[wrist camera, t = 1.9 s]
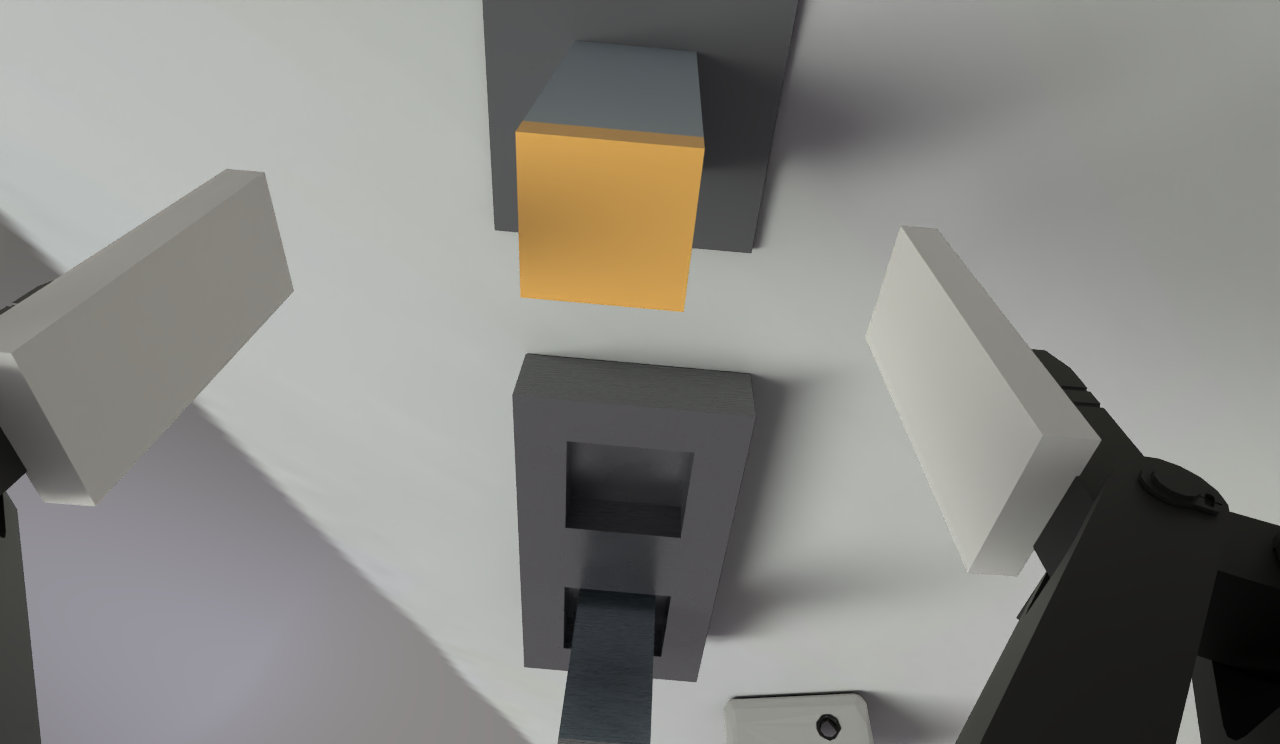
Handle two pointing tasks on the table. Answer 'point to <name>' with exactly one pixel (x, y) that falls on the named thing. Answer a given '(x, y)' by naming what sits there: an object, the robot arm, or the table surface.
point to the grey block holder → (623, 527)
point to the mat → (658, 18)
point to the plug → (611, 178)
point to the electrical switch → (797, 720)
